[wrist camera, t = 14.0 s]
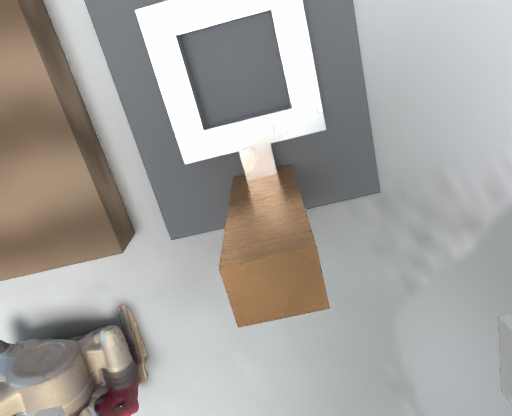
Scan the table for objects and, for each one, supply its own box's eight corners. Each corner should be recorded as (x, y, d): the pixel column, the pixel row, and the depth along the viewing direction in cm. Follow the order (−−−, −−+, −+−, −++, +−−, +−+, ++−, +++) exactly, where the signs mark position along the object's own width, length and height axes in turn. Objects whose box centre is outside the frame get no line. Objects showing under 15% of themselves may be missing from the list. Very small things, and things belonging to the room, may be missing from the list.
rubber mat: (378, 190, 29) (380, 192, 28) (172, 237, 30) (171, 240, 29) (340, -75, 23) (341, -77, 22) (86, -2, 24) (83, -3, 24)
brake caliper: (27, 450, 35) (-99, 515, 23) (35, 315, 38) (-73, 313, 26) (160, 440, 34) (100, 502, 23) (158, 305, 37) (104, 298, 26)
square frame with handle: (335, 195, 28) (388, 296, 17) (209, 225, 29) (182, 339, 18) (293, -31, 23) (330, -98, 12) (141, 11, 24) (44, -14, 13)
